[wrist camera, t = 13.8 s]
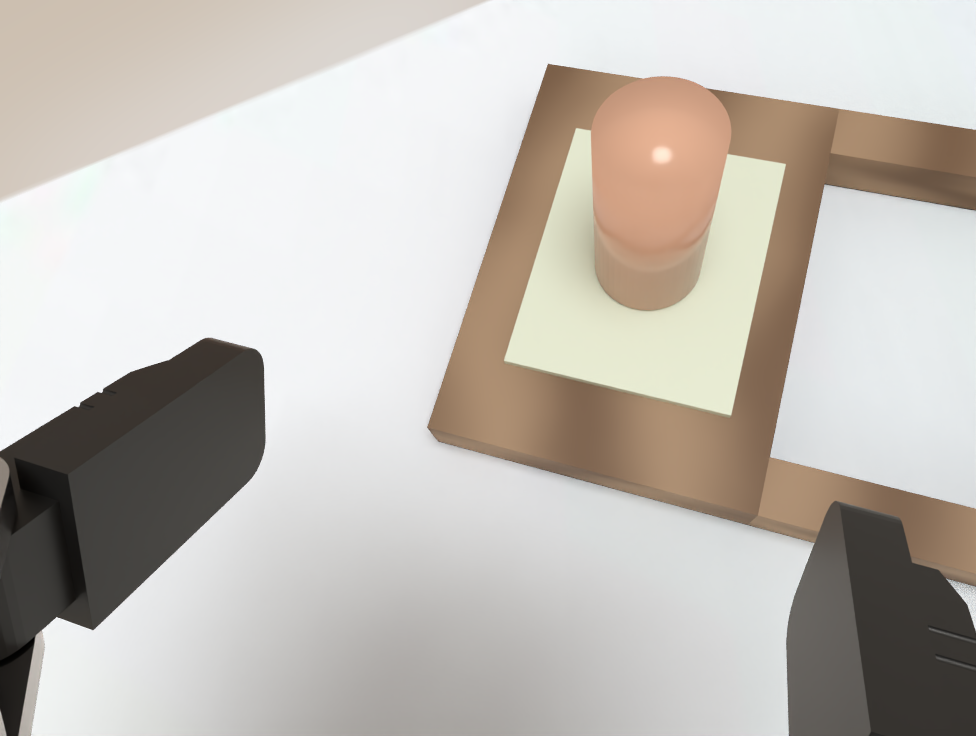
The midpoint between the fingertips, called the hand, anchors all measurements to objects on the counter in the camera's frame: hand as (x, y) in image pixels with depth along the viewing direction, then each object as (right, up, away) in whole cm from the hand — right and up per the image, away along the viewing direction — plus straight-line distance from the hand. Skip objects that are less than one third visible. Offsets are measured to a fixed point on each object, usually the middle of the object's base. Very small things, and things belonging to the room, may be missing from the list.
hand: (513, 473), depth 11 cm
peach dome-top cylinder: (+5, +5, +18) cm, 19 cm away
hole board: (+11, +3, +19) cm, 22 cm away
